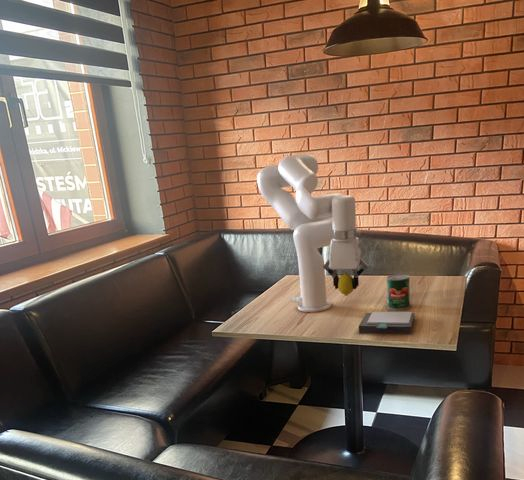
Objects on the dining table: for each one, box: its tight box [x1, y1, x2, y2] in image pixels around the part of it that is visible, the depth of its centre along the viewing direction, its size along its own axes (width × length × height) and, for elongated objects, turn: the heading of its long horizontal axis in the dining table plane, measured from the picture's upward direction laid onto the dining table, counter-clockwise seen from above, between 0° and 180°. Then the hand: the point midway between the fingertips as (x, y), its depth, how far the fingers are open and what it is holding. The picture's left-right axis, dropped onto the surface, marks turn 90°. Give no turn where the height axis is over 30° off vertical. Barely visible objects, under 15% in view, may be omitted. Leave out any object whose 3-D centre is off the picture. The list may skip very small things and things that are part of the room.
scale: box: [358, 311, 416, 335], centre depth 173 cm, size 16×16×3 cm
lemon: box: [337, 272, 354, 297], centre depth 181 cm, size 6×6×8 cm
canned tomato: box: [386, 273, 411, 311], centre depth 191 cm, size 8×8×11 cm
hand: (346, 287), depth 182 cm, fingers closed on lemon, 5 cm apart
